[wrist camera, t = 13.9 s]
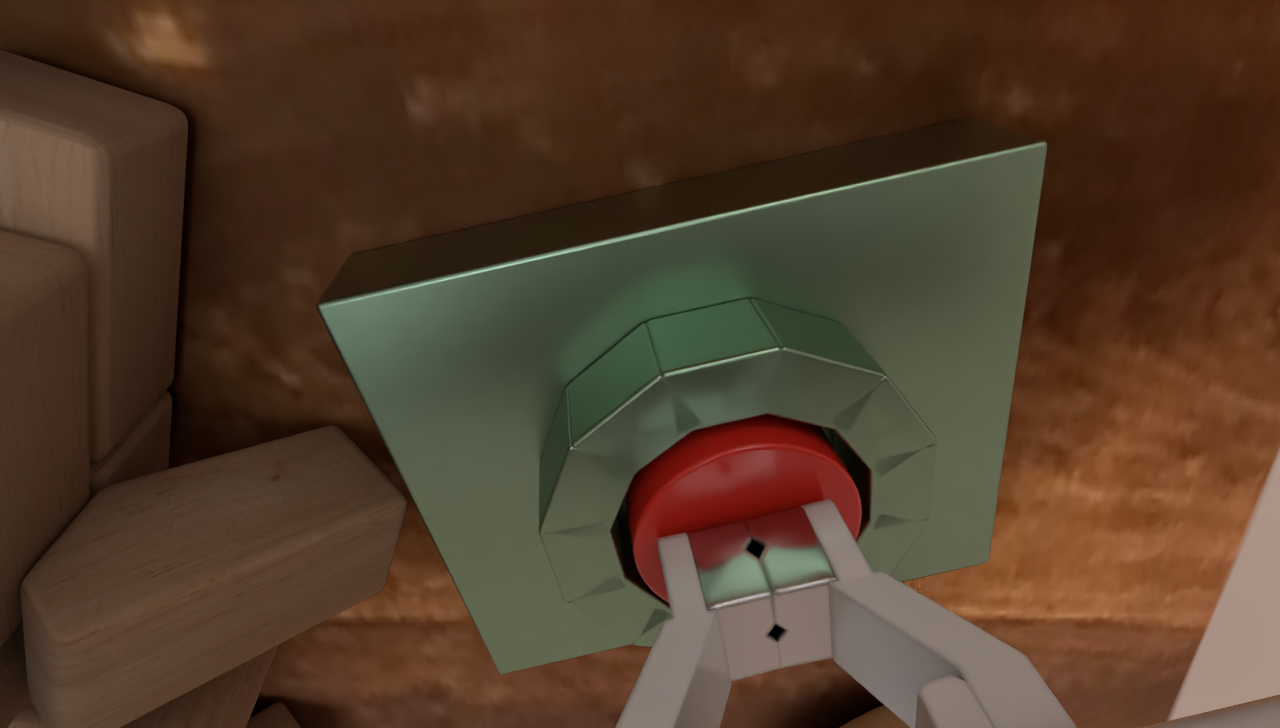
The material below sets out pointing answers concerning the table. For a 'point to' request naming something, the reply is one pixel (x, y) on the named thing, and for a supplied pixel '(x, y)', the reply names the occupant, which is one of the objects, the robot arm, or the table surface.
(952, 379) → the button housing
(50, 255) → the wooden blocks
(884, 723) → the apple
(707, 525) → the button
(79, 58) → the table surface
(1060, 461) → the table surface
